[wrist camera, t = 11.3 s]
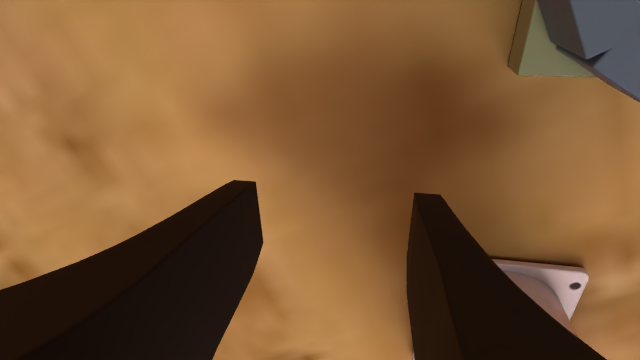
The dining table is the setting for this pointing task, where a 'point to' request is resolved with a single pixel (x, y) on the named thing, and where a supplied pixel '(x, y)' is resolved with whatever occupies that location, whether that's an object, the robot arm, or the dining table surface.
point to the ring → (599, 38)
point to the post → (539, 48)
